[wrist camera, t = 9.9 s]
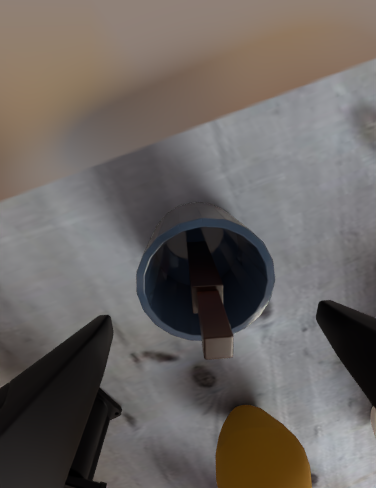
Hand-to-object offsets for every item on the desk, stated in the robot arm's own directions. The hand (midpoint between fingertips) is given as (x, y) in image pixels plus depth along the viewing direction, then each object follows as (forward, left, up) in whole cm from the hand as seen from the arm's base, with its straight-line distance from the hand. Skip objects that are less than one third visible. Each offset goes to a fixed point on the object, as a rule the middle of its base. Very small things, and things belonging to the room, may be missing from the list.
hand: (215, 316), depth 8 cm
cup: (0, 0, -9) cm, 9 cm away
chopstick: (0, 0, -8) cm, 9 cm away
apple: (-22, +6, -9) cm, 24 cm away
